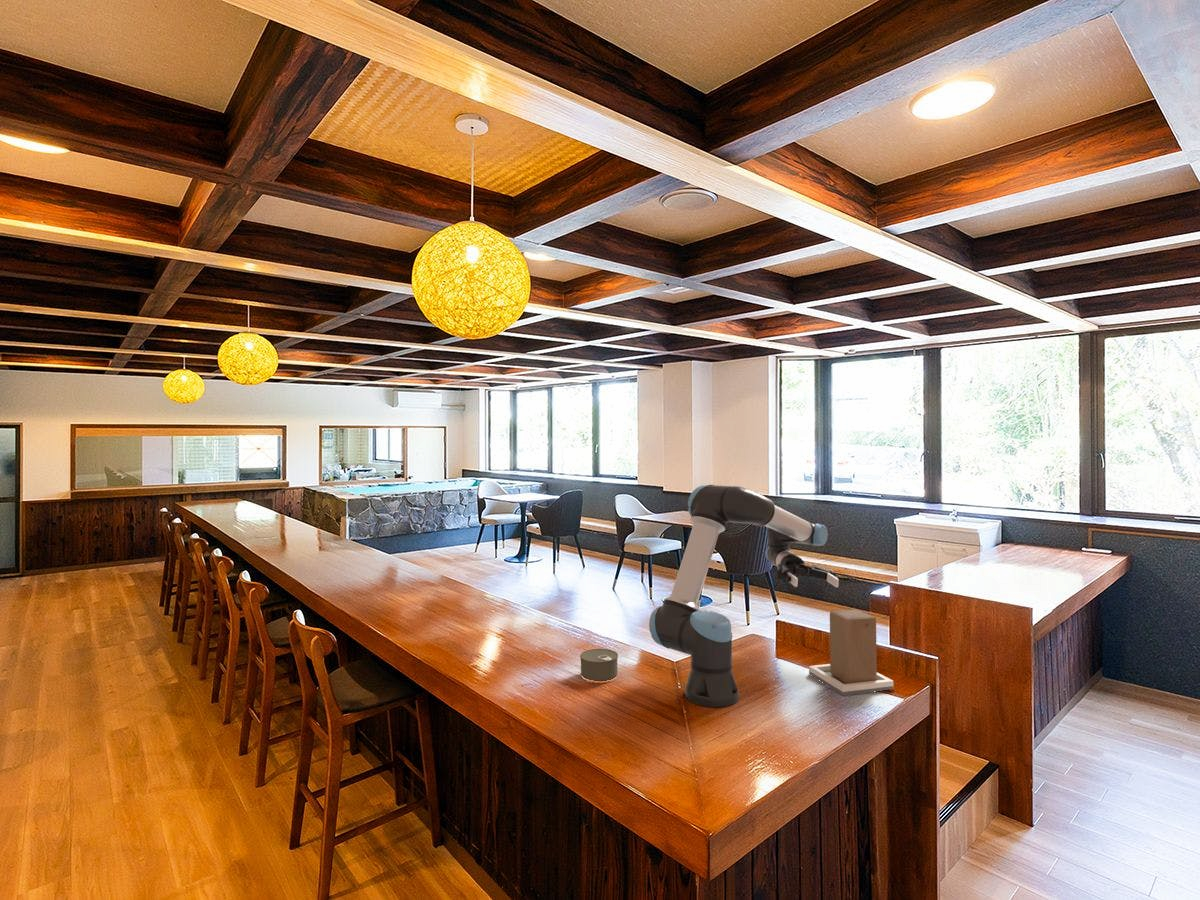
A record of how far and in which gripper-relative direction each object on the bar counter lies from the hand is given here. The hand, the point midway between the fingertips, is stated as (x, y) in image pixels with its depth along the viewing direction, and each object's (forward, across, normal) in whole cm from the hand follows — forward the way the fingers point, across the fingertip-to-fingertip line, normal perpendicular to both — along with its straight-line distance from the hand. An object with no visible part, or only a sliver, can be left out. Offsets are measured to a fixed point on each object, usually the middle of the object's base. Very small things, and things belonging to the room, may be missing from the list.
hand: (817, 583), depth 190 cm
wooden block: (+13, -7, -26) cm, 30 cm away
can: (-1, +69, -32) cm, 76 cm away
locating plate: (+12, -7, -27) cm, 30 cm away
